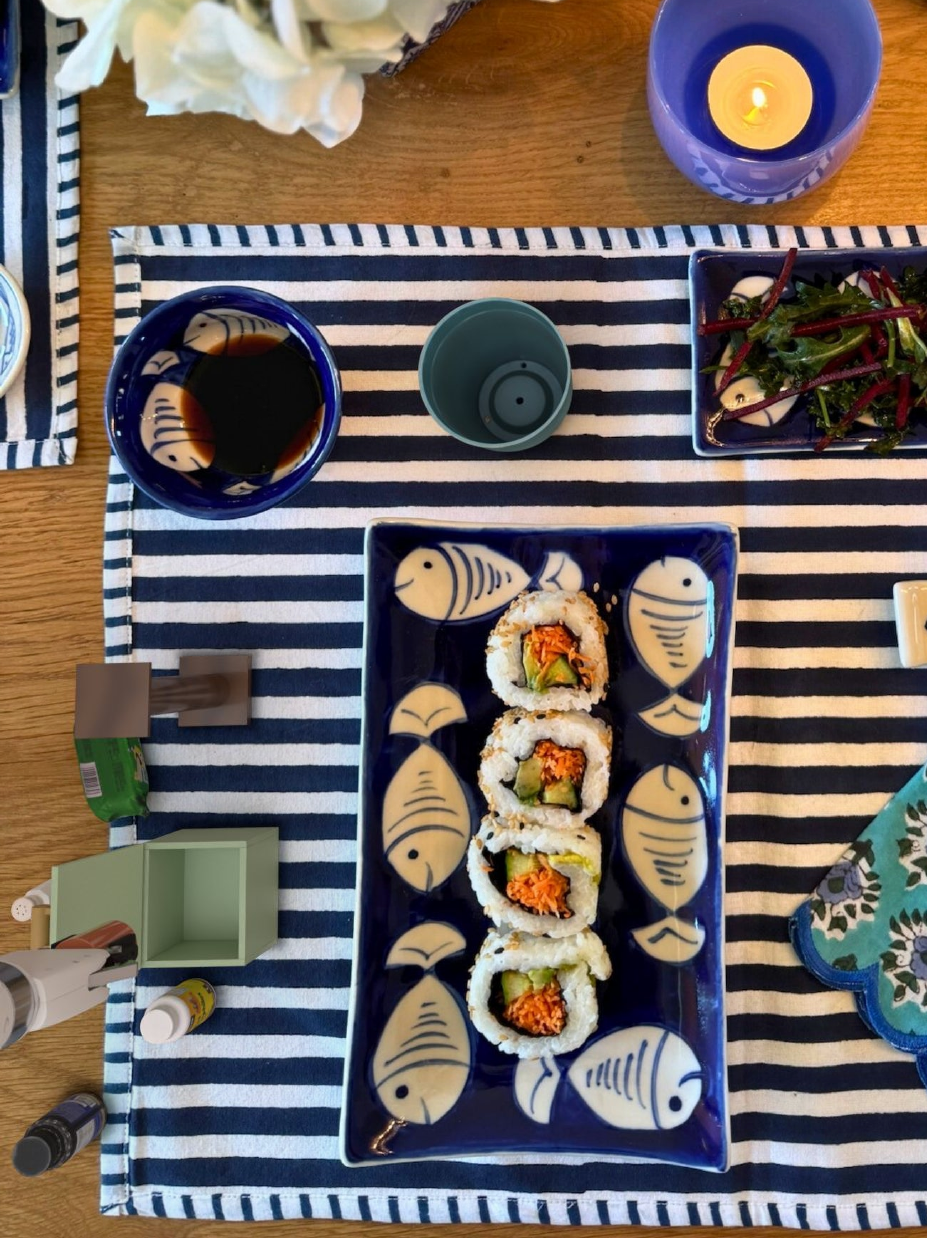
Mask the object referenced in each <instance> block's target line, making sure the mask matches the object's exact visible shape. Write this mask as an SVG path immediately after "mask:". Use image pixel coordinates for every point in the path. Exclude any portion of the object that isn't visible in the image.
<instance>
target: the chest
mask: <svg viewBox="0 0 927 1238" xmlns="http://www.w3.org/2000/svg"><path fill="white" fill-rule="evenodd" d="M279 830H280V829H279V827H278V826H268V827H266V826H263V827H259V826H258V827H220V828H219V827H218V828H217V827H216V828H214V827H213V828H182V829H179V830H176V831H173V832H171V833H167V834H164V835H162V836H159V837H156V838H153V839H150V840H147V841H143V843H142V844H143V881H142V929H141V969H151V968H153V969H154V968H155V969H156V968H200V967H201V968H204V967H207V968H209V967H245V966H247V965H248V964H250V963H251V962H252V961H254V960H255V959H257V958H258V957H260V956H261V955H263V954H264V953H266V952H267V951H268V950H270V949H271V948H273V947H274V946H276V945H277V944H278V940H279V939H278V937H279V935H278V933H279V932H278V931H279V927H278V926H279V918H278V917H279V847H280V845H279V838H280V837H279V834H280V833H279Z"/></svg>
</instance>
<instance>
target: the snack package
mask: <svg viewBox="0 0 927 1238" xmlns="http://www.w3.org/2000/svg"><path fill="white" fill-rule="evenodd" d="M72 727H73V728H72V734H73V736H74V729H75V722H74V723H73V726H72ZM73 744H74V749H75V754H76V757H77V763H78V769H79V776H80V780H81V784H82V785H81V786H82V790H83V794H84V797H85V801H86V803H87V806H88V808H89V809H90V810H91V812H92V814H94V816H95V817H96V818H97V819H99V820H100V821H102V822H104V823H107V824H109V823H113V822H114V821H116V820H117V819H120V818H122V817H130V816H131V817H132V816H141V817H143V821H146V819H147V817H149V816H150V815H151V814H150V813H151V810H150V807H149V806H148V800H147V799H148V794H149V791H150V790H149V789H150V783H149V776H148V772H147V767H146V763H145V757H144V753H143V748H142V744H141V740H140V737H130V738H87V739H74V738H73Z"/></svg>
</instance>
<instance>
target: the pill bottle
mask: <svg viewBox="0 0 927 1238" xmlns="http://www.w3.org/2000/svg"><path fill="white" fill-rule="evenodd" d="M107 1120H108V1110H107V1107H106V1106H105V1103H104V1101H103V1100H102V1099H101V1098H100V1097H99V1096H97V1094H95V1093H92V1092H89V1091H81V1092H76V1093H74V1094H72V1095H70V1096H68V1097H67V1098H65V1100H63V1101H62V1102H60V1103H58V1104H57V1105H56V1106H55V1107H53V1108H52V1109H51V1110H49V1111H48V1112H46V1113H45V1114H44V1115H42V1116H41V1117H39V1118H38V1119H37V1120H35V1121H34V1122H33V1123H32V1124H31V1125H29V1126H28V1128H27V1129H26V1131H25V1132H24V1135H23V1137H22V1138H21V1139H19V1140H18V1141H17V1142H16V1144H15V1145H14V1147H13V1149H12V1153H11V1163H12V1165H13V1168H14V1169H15V1170H16V1172H17V1173H18V1174H20V1175H21V1176H22V1177H26V1178H36V1177H38V1176H41V1175H43V1174H44V1173H45V1172H48V1171H54V1170H56V1169H59V1168H60V1167H62V1166H63V1165H65V1164H66V1163H67V1162H68V1161H69V1160H71V1159H72V1158H73V1157H74V1156H75V1155H76V1154H78V1153H79V1152H80V1151H81V1150H83V1149H84V1148H85V1147H87V1145H88V1144H90V1143H91V1142H92V1141H93V1140H94V1139H96V1138H97V1137H99V1136H100V1134H101V1133H102V1132H103V1131H104V1129H105V1126H106V1124H107Z"/></svg>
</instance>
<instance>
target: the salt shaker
mask: <svg viewBox="0 0 927 1238" xmlns="http://www.w3.org/2000/svg"><path fill="white" fill-rule="evenodd" d="M41 904H49V905H50V907H51V878H49V879H47V880H45V881H44V882H42V883H40V884H38V885H37V886H35V887H33V888H31V889H29V890H28V891H27V892H26V894H25V895H24V896H23V897H18V898H17V899H16V900H14V902H13V903H12V905H11V910H10V912H11V915H12V917H13V918H14V919H15V920H16V921H18V922H27V921H30V920H31V908H32V907H33V906H36V905H41Z"/></svg>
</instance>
